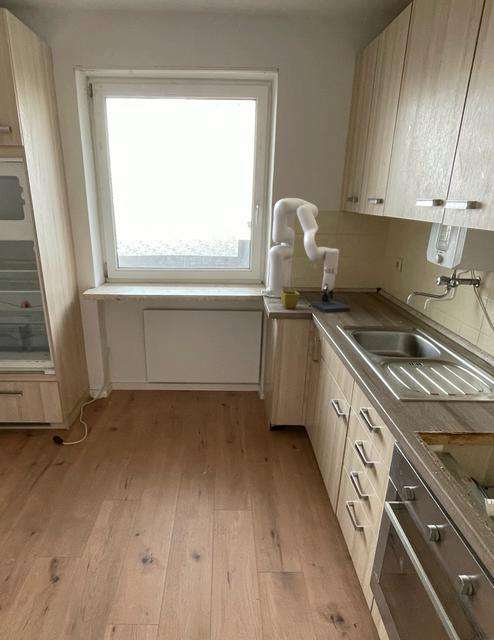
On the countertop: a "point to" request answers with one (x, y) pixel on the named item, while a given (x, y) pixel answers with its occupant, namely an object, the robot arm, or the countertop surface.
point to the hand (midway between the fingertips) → (327, 299)
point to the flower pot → (289, 298)
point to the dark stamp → (328, 301)
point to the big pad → (331, 307)
